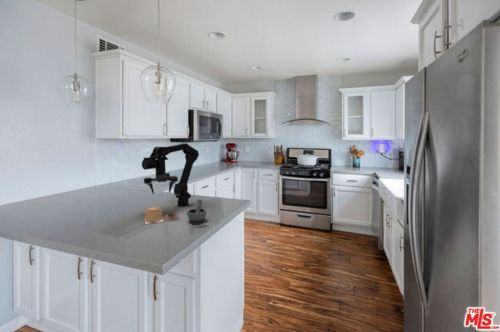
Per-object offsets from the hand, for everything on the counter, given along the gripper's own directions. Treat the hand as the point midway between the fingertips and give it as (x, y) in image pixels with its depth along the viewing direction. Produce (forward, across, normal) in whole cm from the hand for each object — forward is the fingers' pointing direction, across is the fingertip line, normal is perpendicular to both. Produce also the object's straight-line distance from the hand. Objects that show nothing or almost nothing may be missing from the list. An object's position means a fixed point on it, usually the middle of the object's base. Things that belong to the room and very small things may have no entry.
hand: (161, 193), depth 153 cm
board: (+12, -2, -15) cm, 19 cm away
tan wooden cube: (+10, -6, -17) cm, 21 cm away
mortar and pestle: (+12, +15, -27) cm, 33 cm away
